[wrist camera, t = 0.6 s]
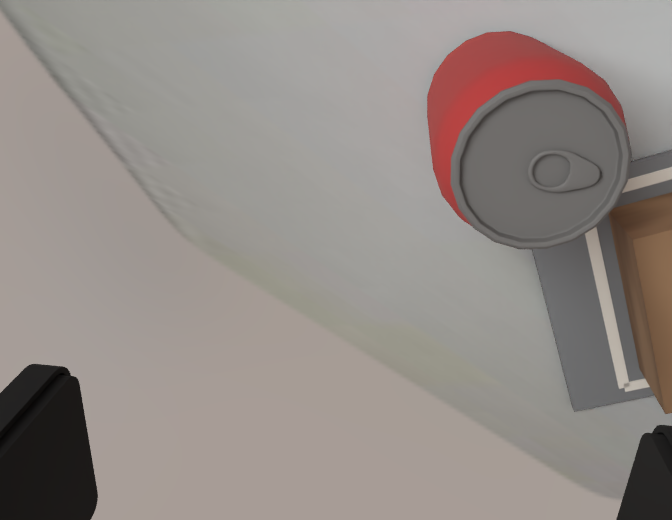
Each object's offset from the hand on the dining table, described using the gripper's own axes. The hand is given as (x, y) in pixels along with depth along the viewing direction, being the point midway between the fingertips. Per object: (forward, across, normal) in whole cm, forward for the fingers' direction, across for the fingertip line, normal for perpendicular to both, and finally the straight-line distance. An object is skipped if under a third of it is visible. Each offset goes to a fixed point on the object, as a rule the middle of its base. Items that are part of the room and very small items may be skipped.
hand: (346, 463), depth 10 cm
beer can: (+24, -5, -2) cm, 24 cm away
